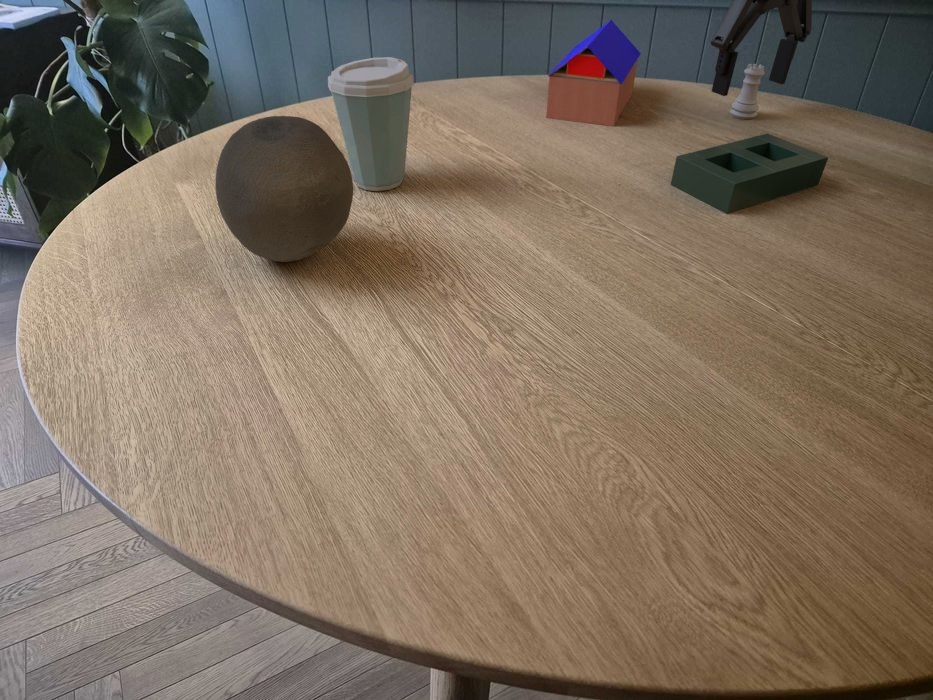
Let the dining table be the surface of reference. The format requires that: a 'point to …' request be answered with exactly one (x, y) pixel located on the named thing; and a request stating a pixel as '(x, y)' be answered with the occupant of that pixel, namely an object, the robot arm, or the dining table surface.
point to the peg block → (747, 172)
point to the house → (594, 79)
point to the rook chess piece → (748, 94)
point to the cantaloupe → (283, 187)
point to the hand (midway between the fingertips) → (748, 87)
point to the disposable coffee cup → (374, 118)
